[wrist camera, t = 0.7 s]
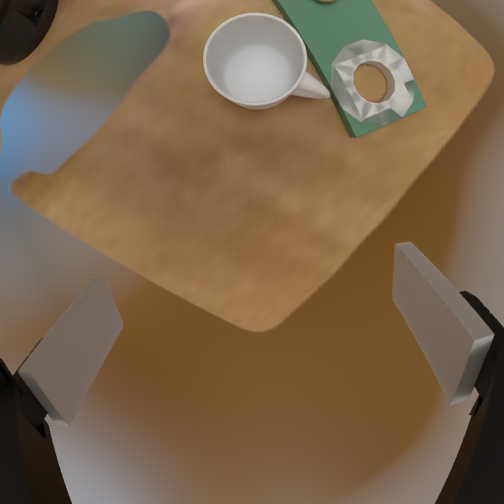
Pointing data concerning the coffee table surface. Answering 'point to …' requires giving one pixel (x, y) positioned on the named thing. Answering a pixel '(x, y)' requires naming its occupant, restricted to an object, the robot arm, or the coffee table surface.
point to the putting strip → (354, 59)
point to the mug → (259, 62)
